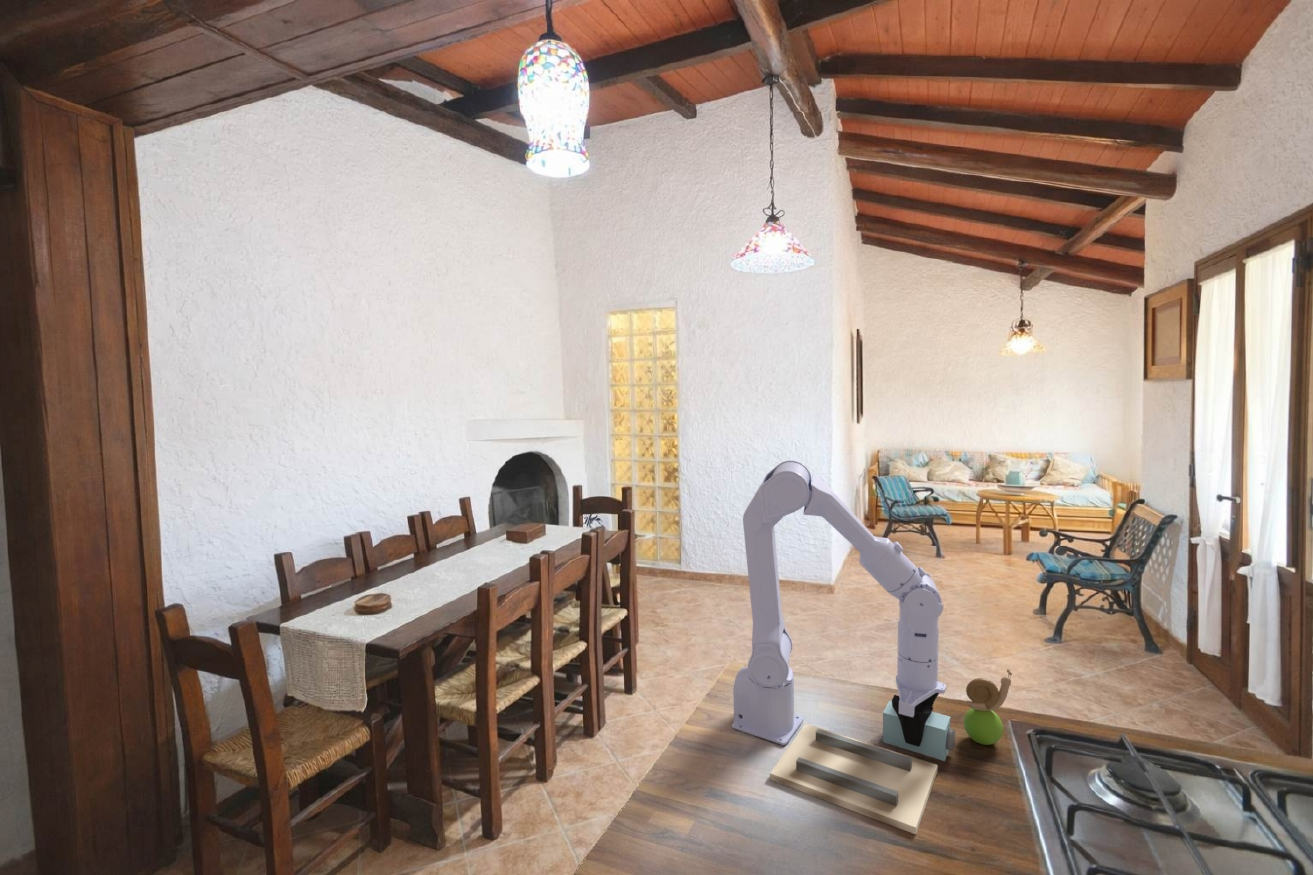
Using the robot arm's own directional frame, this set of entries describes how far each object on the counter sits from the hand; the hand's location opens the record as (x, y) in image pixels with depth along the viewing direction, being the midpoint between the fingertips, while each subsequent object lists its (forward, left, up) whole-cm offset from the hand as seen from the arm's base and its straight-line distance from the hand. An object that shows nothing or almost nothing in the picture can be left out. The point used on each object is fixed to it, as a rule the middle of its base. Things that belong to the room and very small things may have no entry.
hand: (916, 735), depth 97 cm
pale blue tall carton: (0, 0, -2) cm, 2 cm away
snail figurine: (+9, +6, -2) cm, 11 cm away
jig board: (-6, -12, -1) cm, 13 cm away
